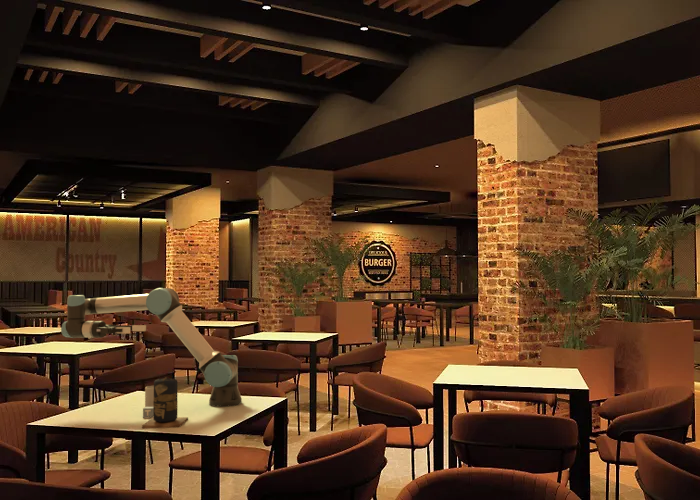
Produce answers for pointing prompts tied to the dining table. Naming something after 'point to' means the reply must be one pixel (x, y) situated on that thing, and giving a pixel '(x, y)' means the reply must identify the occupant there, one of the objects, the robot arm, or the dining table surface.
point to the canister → (165, 400)
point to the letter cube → (148, 412)
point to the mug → (149, 396)
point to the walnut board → (165, 423)
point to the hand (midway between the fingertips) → (138, 329)
